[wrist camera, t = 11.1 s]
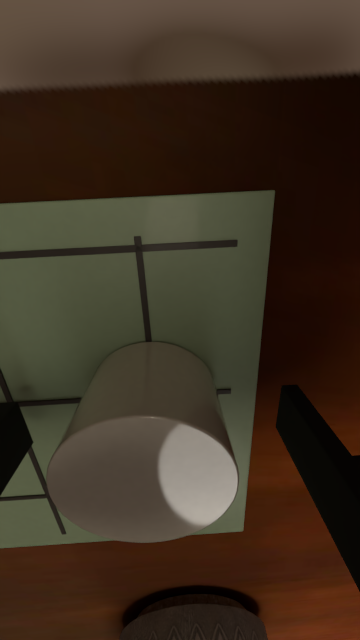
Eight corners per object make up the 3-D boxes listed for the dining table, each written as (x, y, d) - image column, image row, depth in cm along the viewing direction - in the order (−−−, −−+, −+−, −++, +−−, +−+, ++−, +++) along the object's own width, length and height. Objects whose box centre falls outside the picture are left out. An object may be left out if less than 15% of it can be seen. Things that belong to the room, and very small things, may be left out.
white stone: (119, 318, 11) (85, 384, 7) (240, 373, 13) (278, 458, 8) (72, 418, 14) (22, 518, 9) (179, 455, 15) (183, 557, 11)
